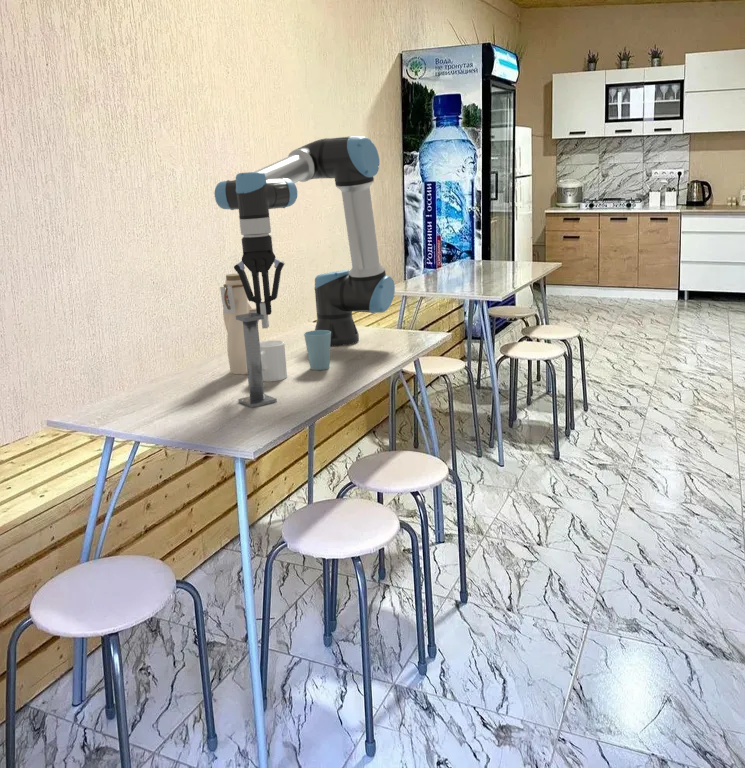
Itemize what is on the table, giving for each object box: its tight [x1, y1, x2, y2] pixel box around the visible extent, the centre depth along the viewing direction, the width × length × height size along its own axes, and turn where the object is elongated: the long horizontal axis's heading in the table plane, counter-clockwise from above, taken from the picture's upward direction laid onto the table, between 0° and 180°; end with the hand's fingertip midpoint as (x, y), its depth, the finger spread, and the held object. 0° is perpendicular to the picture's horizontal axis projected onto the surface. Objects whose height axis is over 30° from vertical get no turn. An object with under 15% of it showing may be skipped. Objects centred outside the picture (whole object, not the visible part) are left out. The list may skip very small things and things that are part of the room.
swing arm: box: [249, 308, 260, 323], centre depth 203 cm, size 19×3×2 cm, turn 5°
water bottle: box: [219, 273, 253, 375], centre depth 224 cm, size 10×9×28 cm
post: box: [236, 313, 277, 409], centre depth 194 cm, size 7×7×22 cm
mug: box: [259, 339, 288, 383], centre depth 216 cm, size 8×12×10 cm
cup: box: [303, 329, 331, 371], centre depth 226 cm, size 8×8×10 cm
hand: (265, 327), depth 204 cm, fingers closed
